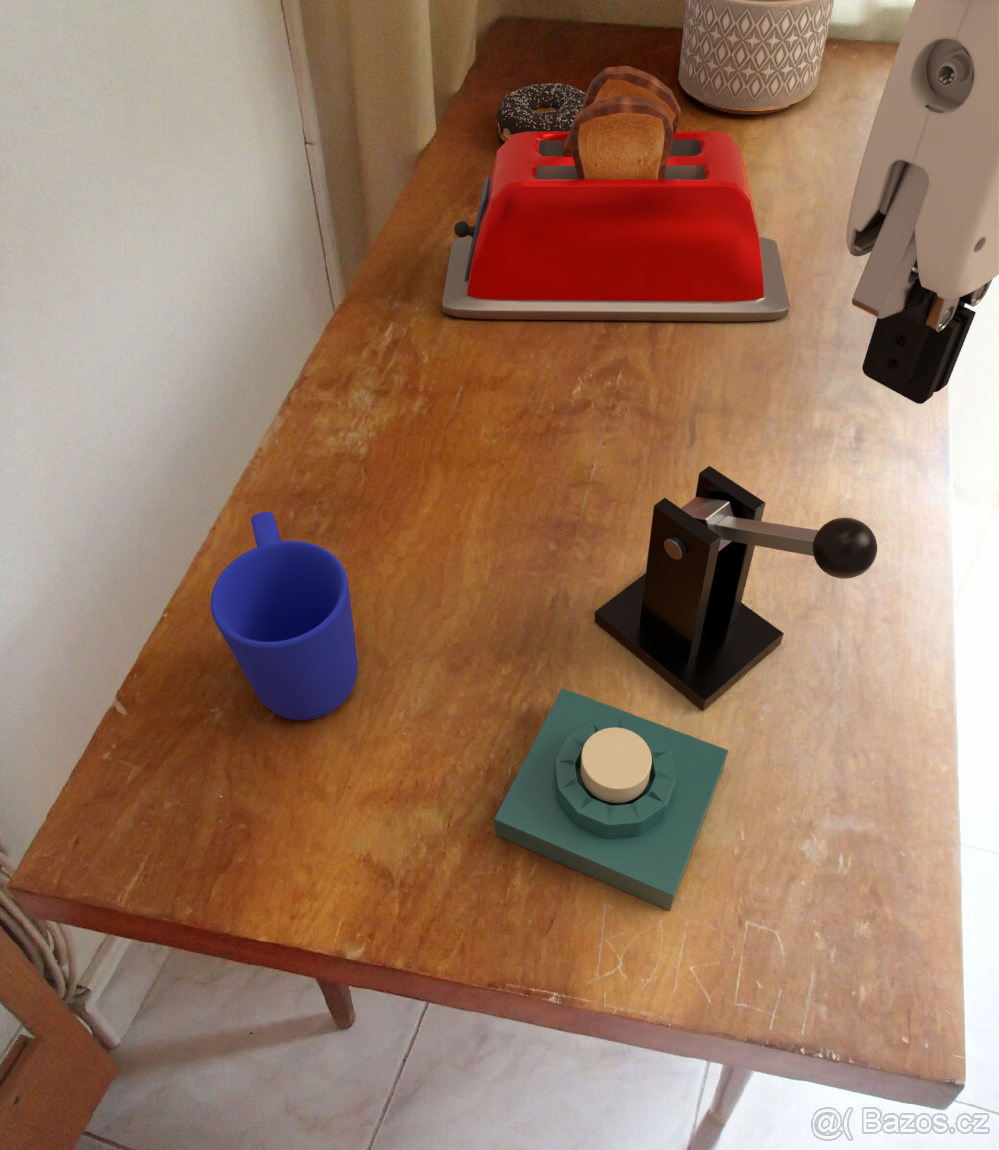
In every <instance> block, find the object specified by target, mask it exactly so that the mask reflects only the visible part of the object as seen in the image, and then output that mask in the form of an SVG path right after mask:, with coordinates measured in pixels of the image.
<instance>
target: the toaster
mask: <svg viewBox="0 0 999 1150" xmlns="http://www.w3.org/2000/svg"><path fill="white" fill-rule="evenodd" d="M681 114H682V111H681V107H680V105H679V103H678V101H677V99H676V97H675V95H674V92H673V91H672V89H671V88H669V86H667V85H666V84H665V83H663V82H662V81H661V80H660V79H658V78H657V77H656V76H654V75H653V74H652V73H649V72H647V71H644V70H640V69H637V68H634V67H632V66H629V65H621V66H620V65H619V66H611V67H610V66H609V67H605V68H604V69H603V70H601V72H600V73H599V74H597V75H596V76H595V77H593V79H592V80H591V81H590V83H589V86H588V88H587V90H586V92H585V97H584V101H583V105H582V109H581V111H580V112H579V113H577V114H576V115H575V118H574V121H573V124H572V127H571V130H570V131H554V132H522V133H516V134H513V135H512V136H511V137H510V138H509V139H508V140H507V141H506V142H504V143H503V144H502V145H501V146H500V147H499V148H498V149H497V150H496V154H495V156H494V159H493V162H492V165H491V168H490V171H489V174H488V177H485V179H484V183H483V187H482V191H481V195H480V201H479V205H478V210H477V213H476V214H477V215H476V220H475V224H474V225H473V226H472V225H469V224H468V222H466V221H464V220H460V221H457V222H456V224H455V225H454V228H453V231H454V233H455V235H456V236H457V237H458V238H454V239H453V240H452V242H451V245H450V252H449V257H448V263H447V270H446V274H445V275H446V276H445V281H444V287H443V291H442V299H441V309H442V312H443V313H444V314H445V315H448V316H451V317H454V318H459V319H476V320H526V321H527V320H530V321H531V320H533V321H535V320H536V321H537V320H539V321H543V320H544V321H545V320H546V321H556V320H557V321H646V322H647V321H652V322H653V321H658V322H661V321H662V322H663V321H664V322H665V321H666V322H668V321H669V322H759V321H763V322H764V321H774V320H777V319H782V318H784V317H786V316H787V315H788V314H789V312H790V306H791V305H790V301H789V296H788V291H787V286H786V281H785V276H784V272H783V266H782V262H781V257H780V252H779V247H778V243H777V242H776V240H775V239H771V238H767V237H762V236H760V232H759V227H758V221H757V216H756V210H755V206H754V200H753V196H752V195H753V194H752V189H751V184H750V181H749V176H748V172H747V168H746V164H745V163H746V162H745V159H744V155H743V151H742V149H741V148H740V146H739V145H738V144H737V143H736V141H734V140H733V139H732V137H730V135H729V134H728V133H727V132H722V131H716V130H678V127H679V122H680V118H681Z"/></svg>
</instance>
